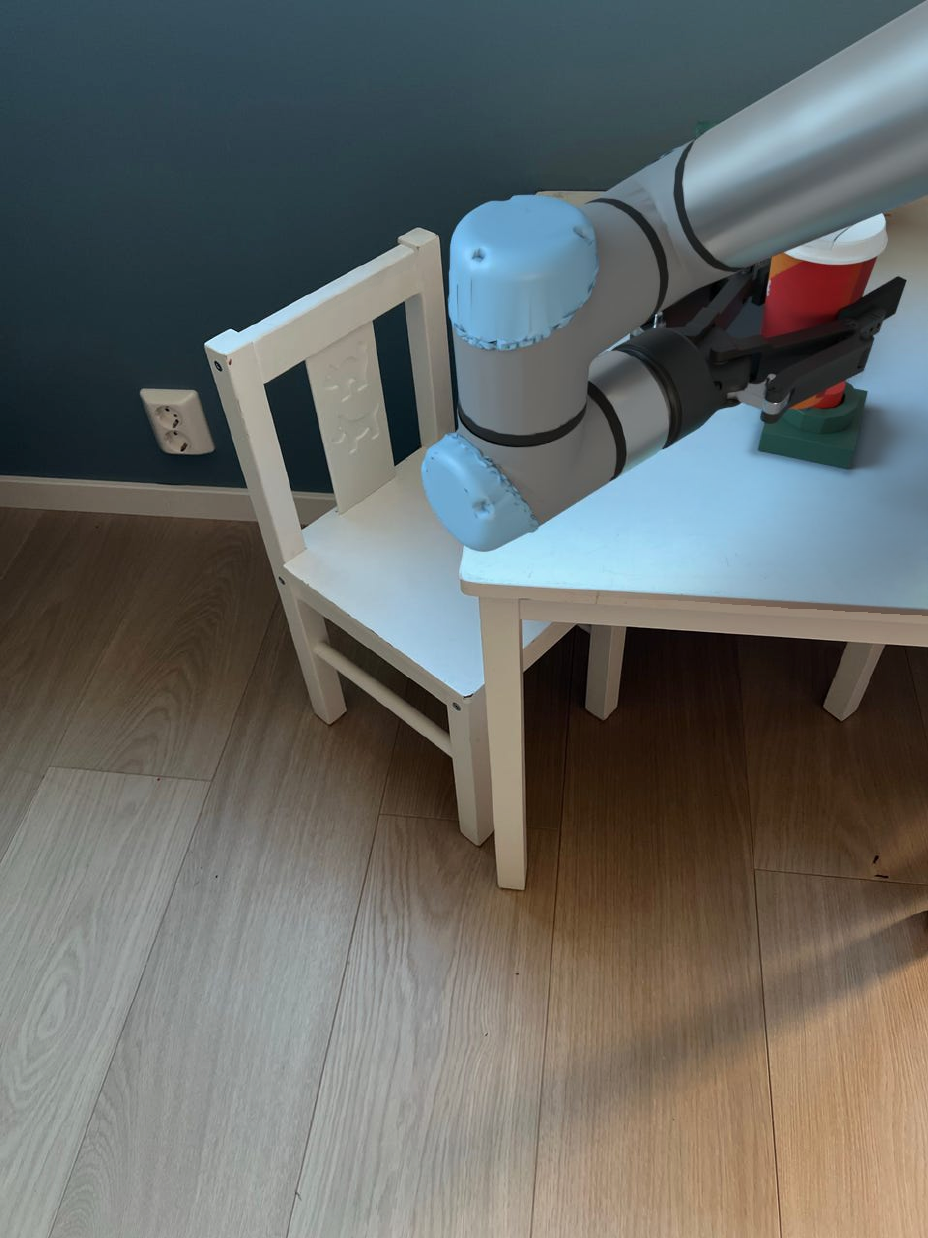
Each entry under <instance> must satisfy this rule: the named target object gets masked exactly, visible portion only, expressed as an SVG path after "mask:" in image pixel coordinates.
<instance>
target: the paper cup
mask: <svg viewBox="0 0 928 1238" xmlns="http://www.w3.org/2000/svg"><path fill="white" fill-rule="evenodd" d="M886 228H887V221H886V218H885V215H884V213H881V214H879V215H876V216H874V217H871V218H869V219H866V220H864V221H861V222H859V223H856V224H854V225H851V226H849V227H846V228H844V229H841V230H839V231H836V232H834V233H831V234H829V235H826V236H824V237H821V238H819V239H816V240H814V241H811V242H809V243H806V244H804V245H801V246H799V247H796V248H794V249H791V250H789V251H786V252H784V253H781V254H779V255H776V256H774V257H771V259H772V261H771V267H770V274H769V280H768V287H767V293H766V300H765V306H764V312H763V319H762V326H761V332H760V334H762V335H763V336H764V337H765V338H770V337H773V336H777V335H781V334H785V333H789V332H793V331H797V330H801V329H805V328H809V327H813V326H817V325H821V324H825V323H829V322H833V321H837V319H838V316H839V313H840V310H841V309H843V308H844V307H846V306H848V305H850V304H853V303H854V302H856V301H858V300H859V299H860V298H861V297H863V296H864V293H865V290H866V288H867V286H868V283H869V280H870V278H871V275H872V272H873V269H874V268H875V264H876V262H877V259H878V256H879V255H881V254H882V253H883V252H884V251H885V249H886V247H887V245H888V241H889V239H888V233H887V231H886ZM766 380H767V379H766ZM766 380H765V381H766ZM825 393H826V390H825V391H823V392H821V393H819V394H817V395H815V396H813V397H811V398H809V399H807V400H805V401H803V402H801V403H799V404H797V405H795V406H793V407H791V408H789V409H802V408H807V407H811V406H813V405H815V404H817V403H818V402H820V401H821V399H822V398H823V396H824V395H825Z"/></svg>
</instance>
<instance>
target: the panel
mask: <svg viewBox="0 0 928 1238" xmlns="http://www.w3.org/2000/svg"><path fill="white" fill-rule="evenodd" d="M868 392H869V391H868V390H865V389H860V388H854V386H853V384H851V383H849V382H848V381H847V380H845V389H844V392H843V395H842V398H841V402H840V404H839V405H838V406H837V407H836V408H830V409H819V408H813V407H807V408H802V409H788V410H787V411H786V412H785V414H784V415H783V416H782V417H781V418H780V419H779V420H778V422H776V423H773V424H768V423H764V424H763V427H762V430H761V434H760V437H759V442H758V446H757V451H759V452H764V453H769V454H773V455H779V456H783V457H787V458H793V459H797V460H803V461H807V462H812V463H817V464H822V465H826V466H832V467H836V468H841V469H845V470H848V469H849V468H850V465H851V462H852V459H853V457H854V454H855V450H856V446H857V442H858V437H859V433H860V430H861V429H860V428H861V424H862V420H863V415H864V410H865V406H866V403H867V402H866V401H867V397H868Z"/></svg>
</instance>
